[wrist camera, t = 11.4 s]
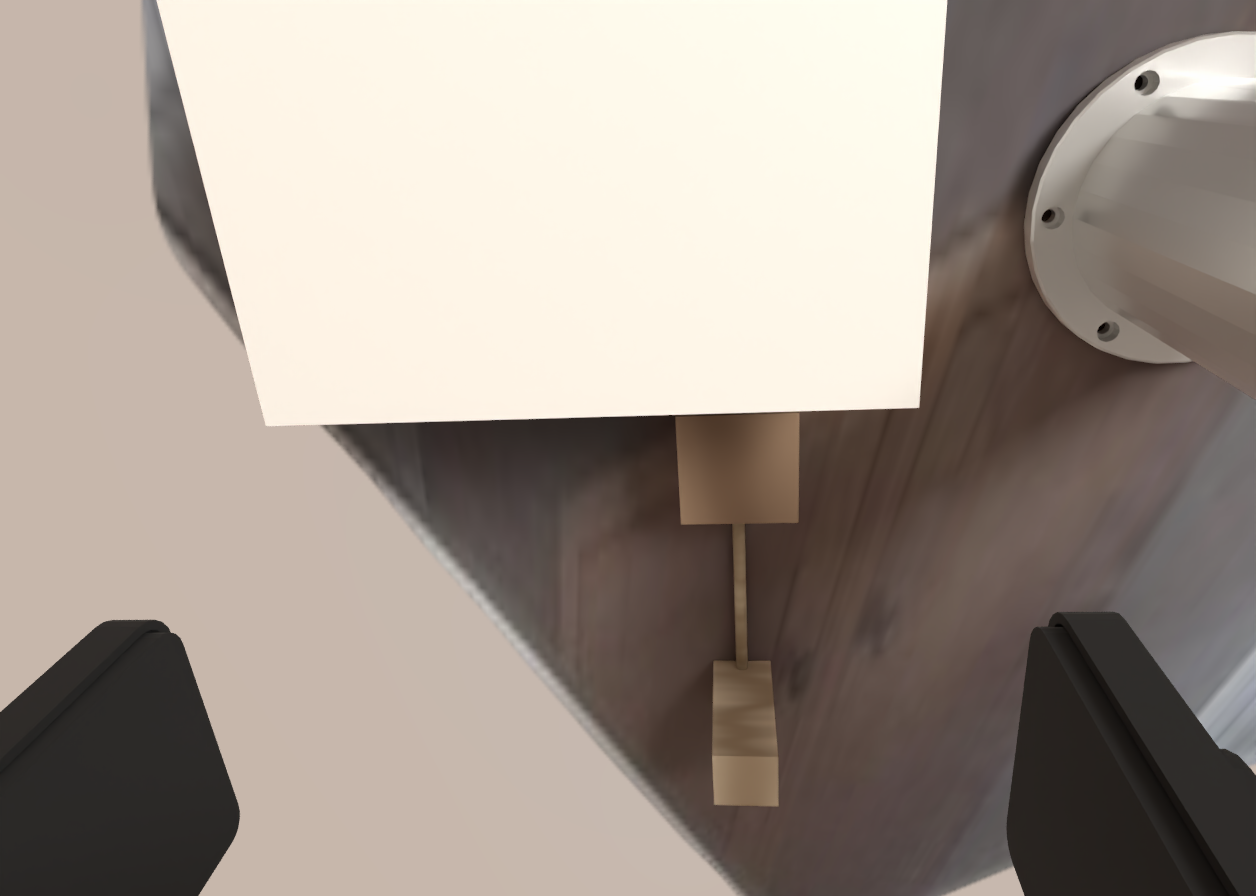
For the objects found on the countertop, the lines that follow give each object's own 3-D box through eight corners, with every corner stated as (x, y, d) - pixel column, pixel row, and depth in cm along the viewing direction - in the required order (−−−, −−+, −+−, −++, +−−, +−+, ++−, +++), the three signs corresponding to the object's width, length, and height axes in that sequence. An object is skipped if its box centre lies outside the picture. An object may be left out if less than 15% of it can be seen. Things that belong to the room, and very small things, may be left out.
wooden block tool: (790, 373, 39) (803, 432, 33) (789, 706, 47) (800, 806, 40) (680, 377, 40) (672, 435, 33) (696, 705, 47) (693, 804, 41)
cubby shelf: (868, -144, 31) (967, -290, 18) (853, 294, 37) (919, 407, 25) (340, -89, 33) (109, -185, 21) (410, 313, 40) (265, 426, 27)
